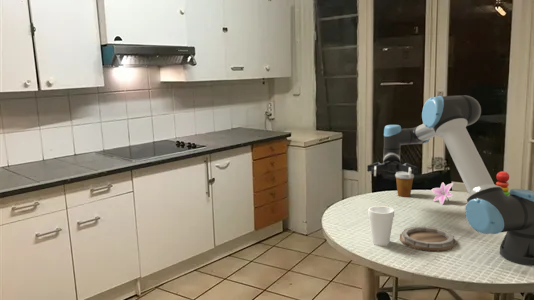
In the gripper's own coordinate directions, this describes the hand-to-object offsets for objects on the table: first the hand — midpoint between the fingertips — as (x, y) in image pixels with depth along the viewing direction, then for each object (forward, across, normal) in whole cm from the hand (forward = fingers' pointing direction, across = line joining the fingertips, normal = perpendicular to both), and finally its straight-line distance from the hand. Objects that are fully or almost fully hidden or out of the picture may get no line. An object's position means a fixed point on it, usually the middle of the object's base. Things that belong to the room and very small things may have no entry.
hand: (392, 173), depth 174 cm
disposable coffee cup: (-54, -7, -24) cm, 60 cm away
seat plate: (+10, -13, -24) cm, 29 cm away
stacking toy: (-34, -48, -24) cm, 63 cm away
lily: (-46, -25, -24) cm, 57 cm away
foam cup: (+15, +4, -24) cm, 28 cm away
